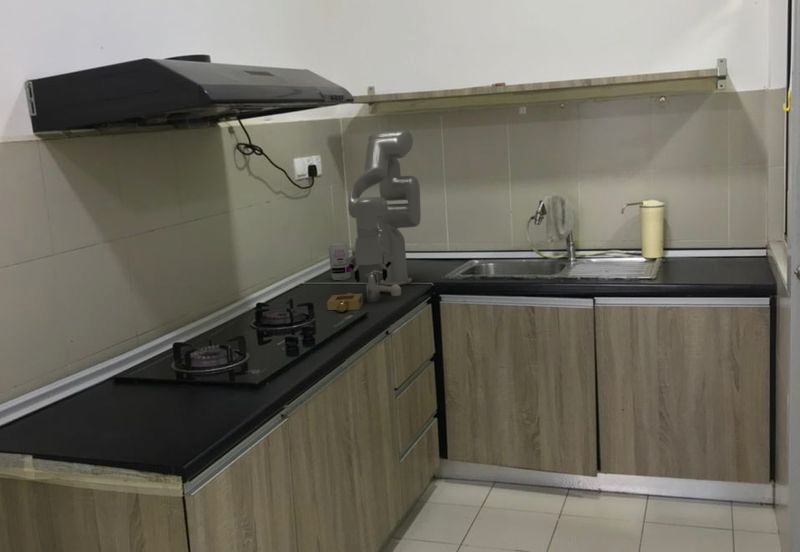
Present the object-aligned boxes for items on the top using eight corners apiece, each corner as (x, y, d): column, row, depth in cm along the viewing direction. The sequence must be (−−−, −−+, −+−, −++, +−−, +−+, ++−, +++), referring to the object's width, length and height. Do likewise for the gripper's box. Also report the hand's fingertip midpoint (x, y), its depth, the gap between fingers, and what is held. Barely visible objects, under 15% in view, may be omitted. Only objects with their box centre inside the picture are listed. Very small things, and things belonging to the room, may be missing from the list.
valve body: (335, 302, 313) (334, 293, 312) (364, 300, 311) (363, 291, 311) (326, 314, 294) (325, 304, 293) (357, 312, 293) (356, 302, 292)
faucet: (393, 308, 317) (397, 284, 313) (364, 289, 328) (367, 266, 324) (401, 306, 320) (405, 282, 316) (372, 287, 331) (375, 264, 327)
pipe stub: (368, 300, 312) (366, 273, 310) (380, 299, 312) (378, 272, 310) (367, 302, 308) (364, 275, 306) (379, 301, 307) (376, 274, 305)
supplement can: (344, 276, 366) (341, 242, 364) (354, 278, 360) (351, 243, 357) (328, 279, 362) (324, 244, 359) (338, 281, 355) (335, 246, 352)
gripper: (392, 231, 308) (396, 277, 310) (345, 234, 310) (349, 280, 312) (390, 233, 300) (394, 281, 303) (342, 236, 302) (346, 283, 305)
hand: (371, 280), depth 308 cm, fingers open, 9 cm apart
